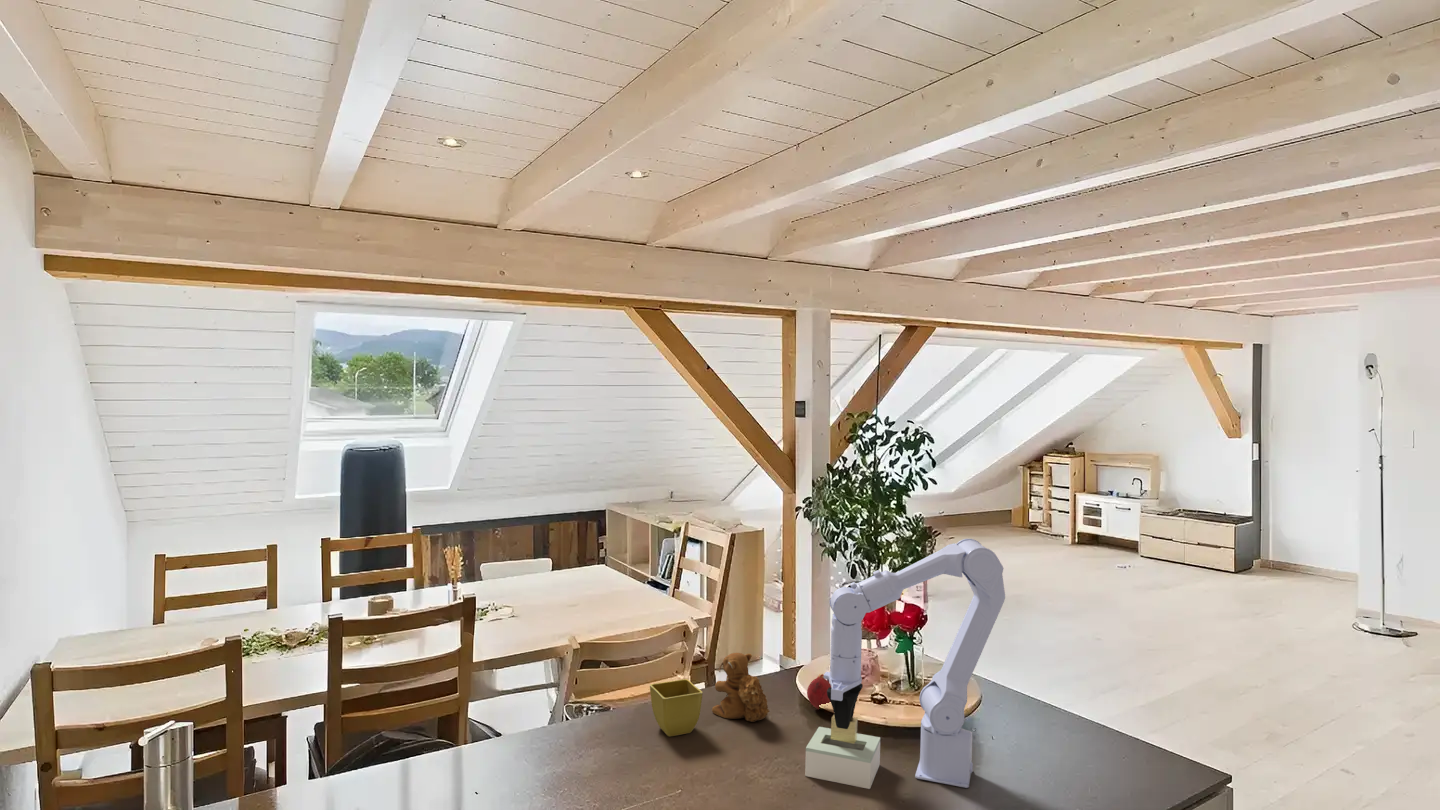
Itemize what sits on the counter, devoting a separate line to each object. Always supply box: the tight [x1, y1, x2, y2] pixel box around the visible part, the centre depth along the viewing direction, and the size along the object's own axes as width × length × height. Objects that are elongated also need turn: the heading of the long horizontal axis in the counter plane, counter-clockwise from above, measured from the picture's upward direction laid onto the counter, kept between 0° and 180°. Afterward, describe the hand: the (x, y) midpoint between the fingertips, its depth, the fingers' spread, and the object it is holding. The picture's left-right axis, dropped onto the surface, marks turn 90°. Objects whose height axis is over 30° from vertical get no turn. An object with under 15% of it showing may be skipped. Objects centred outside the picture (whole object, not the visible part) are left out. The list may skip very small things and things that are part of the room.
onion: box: [806, 673, 831, 710], centre depth 179 cm, size 6×6×8 cm
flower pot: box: [649, 678, 704, 737], centre depth 167 cm, size 9×9×9 cm
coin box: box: [804, 726, 881, 790], centre depth 151 cm, size 12×10×5 cm
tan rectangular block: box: [830, 714, 858, 744], centre depth 151 cm, size 4×2×4 cm, turn 69°
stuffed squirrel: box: [711, 652, 771, 723], centre depth 175 cm, size 10×14×13 cm
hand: (844, 725), depth 151 cm, fingers closed on tan rectangular block, 2 cm apart
